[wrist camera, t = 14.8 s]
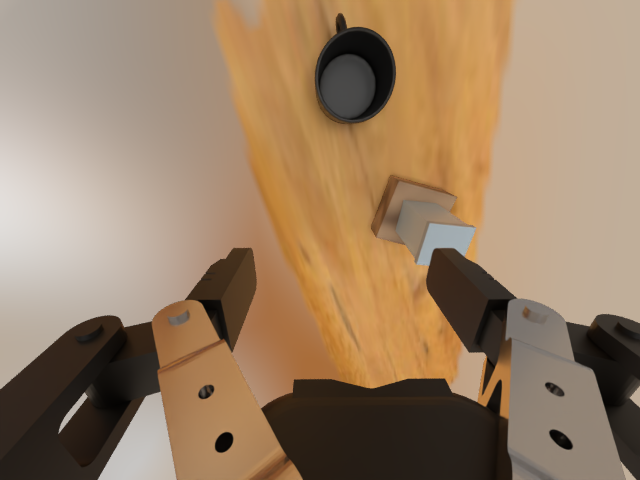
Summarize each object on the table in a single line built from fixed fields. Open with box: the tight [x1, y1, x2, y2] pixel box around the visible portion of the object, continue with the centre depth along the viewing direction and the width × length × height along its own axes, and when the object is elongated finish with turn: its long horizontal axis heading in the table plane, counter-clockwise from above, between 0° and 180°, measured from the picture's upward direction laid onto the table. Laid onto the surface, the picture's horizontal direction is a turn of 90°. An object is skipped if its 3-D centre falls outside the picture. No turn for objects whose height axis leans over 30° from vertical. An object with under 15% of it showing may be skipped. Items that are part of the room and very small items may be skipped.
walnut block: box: [371, 176, 457, 245], centre depth 43 cm, size 10×10×5 cm
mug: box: [315, 13, 396, 124], centre depth 32 cm, size 9×12×9 cm
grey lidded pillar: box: [396, 200, 476, 266], centre depth 35 cm, size 6×6×11 cm
